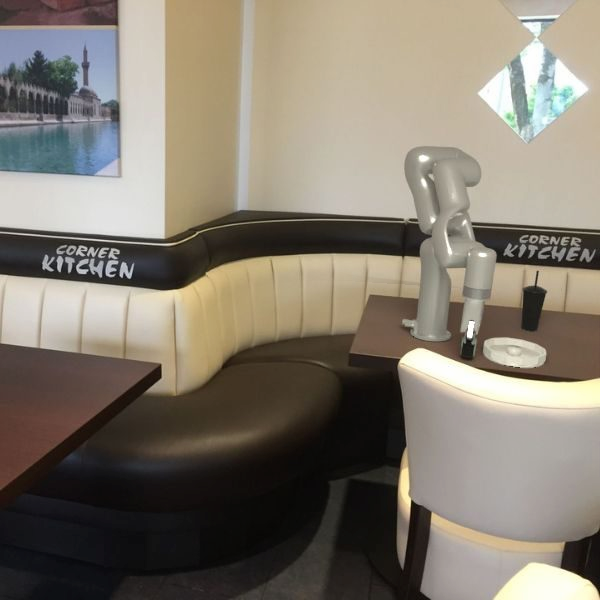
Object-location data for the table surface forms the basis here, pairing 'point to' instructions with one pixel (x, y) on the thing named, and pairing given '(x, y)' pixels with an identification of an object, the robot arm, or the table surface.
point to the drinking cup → (532, 305)
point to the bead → (474, 346)
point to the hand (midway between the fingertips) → (467, 352)
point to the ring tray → (504, 359)
